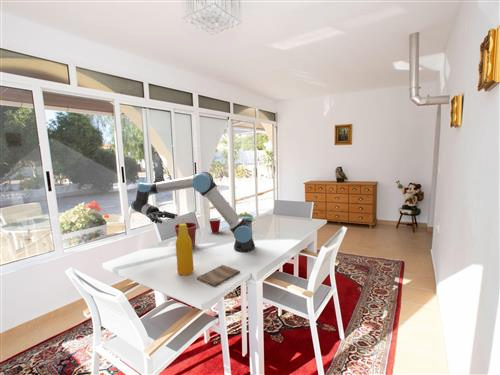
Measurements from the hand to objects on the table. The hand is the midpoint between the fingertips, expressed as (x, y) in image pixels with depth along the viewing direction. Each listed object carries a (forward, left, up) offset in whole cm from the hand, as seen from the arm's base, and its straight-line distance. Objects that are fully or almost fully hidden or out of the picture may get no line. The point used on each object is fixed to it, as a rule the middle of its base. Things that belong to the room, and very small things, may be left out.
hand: (174, 222), depth 159 cm
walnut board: (-23, +20, -28) cm, 41 cm away
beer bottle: (-5, +9, -28) cm, 30 cm away
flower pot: (-7, -35, -28) cm, 45 cm away
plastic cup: (-31, -62, -28) cm, 75 cm away
